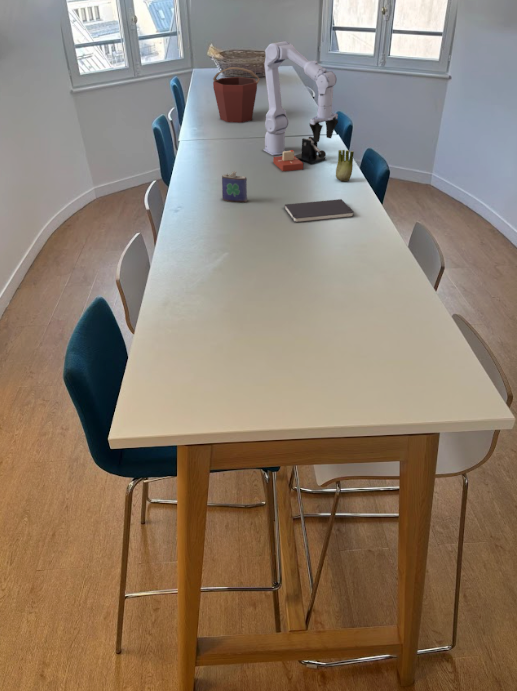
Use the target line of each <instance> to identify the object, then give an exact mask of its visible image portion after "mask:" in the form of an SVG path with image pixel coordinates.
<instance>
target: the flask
mask: <svg viewBox="0 0 517 691" xmlns="http://www.w3.org/2000/svg"><path fill="white" fill-rule="evenodd" d="M247 180H248V178H247V177H246V176H243V175H237V171H235V170H234V171H232V172H231V174H230V173H229V174H228V173H226V174H222V176H221V188H222V190H221V191H222V192H221V193H222V201H224V202H229V203H230V202H231V203H247V201H248V187H247V186H248V184H247Z"/></svg>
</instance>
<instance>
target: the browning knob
mask: <svg viewBox="0 0 517 691" xmlns="http://www.w3.org/2000/svg"><path fill="white" fill-rule="evenodd" d="M294 155H295V151H294V150H293V149H290V150H285V151H283V154H282V156H283V161H288V160H294Z"/></svg>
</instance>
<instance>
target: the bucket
mask: <svg viewBox="0 0 517 691" xmlns="http://www.w3.org/2000/svg"><path fill="white" fill-rule="evenodd" d="M229 70H238V71H243V72H246V73H249V75H250V76H252V78H251V77H243V76H231V77H230V76H229V77H220V78H218V76H220V75H221V74H222V73H224V72H226V71H229ZM217 78H218V79H217ZM256 79H257V80H256ZM212 80H213V81H212V84H213V86H212V87H213V92H214V97H215V101H216V105H217V109H218V114H219V119H220V120H221V121H223V122H226V123H239V124H241V123H245V122H250V121H252V120H253V115H254V111H255V110H254V109H255V103H256V97H257V90H258V84H259V82H260V80H261V79H260V77H259V76H258V75H257V74H256V73H255V72H254V71H253V70H251V69H247V68H245V67H237V66H229V67H227V68H224V69H222V70H220V71H219V72H217V73H216V74H214V76H213V78H212Z"/></svg>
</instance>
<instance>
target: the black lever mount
mask: <svg viewBox="0 0 517 691" xmlns="http://www.w3.org/2000/svg"><path fill="white" fill-rule="evenodd" d="M309 138H311V139H312V140H313V141H314V136H308V138H302V139H301V153H298V154H294V156H295V157H296V158H297V159H299V160H300V161H301V162H302V163H305V164H308V165H314V164H318V163H321V162H324V161H326V156H325V157H324V158H320V157H319V156H318V152H316V151H315V150H314V149H313V148H312V147H311V140H308V139H309ZM314 145H315V146H316V147H317V148H318V142H316V141H314Z"/></svg>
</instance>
